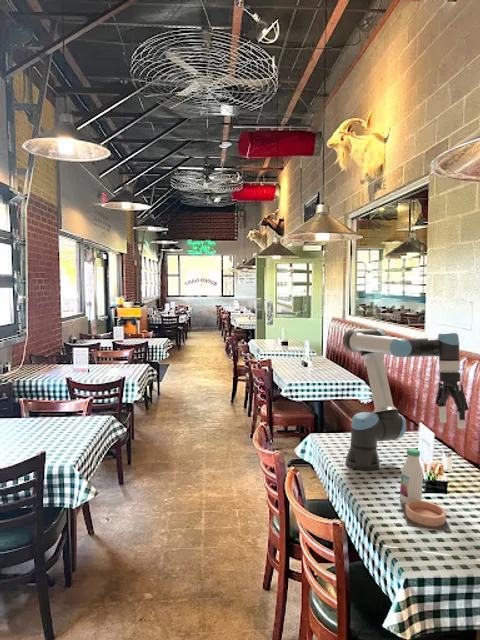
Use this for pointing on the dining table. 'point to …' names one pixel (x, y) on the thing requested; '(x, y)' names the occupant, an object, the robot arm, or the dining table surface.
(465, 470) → the dining table surface
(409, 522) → the mat
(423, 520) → the bowl
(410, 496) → the milk bottle
